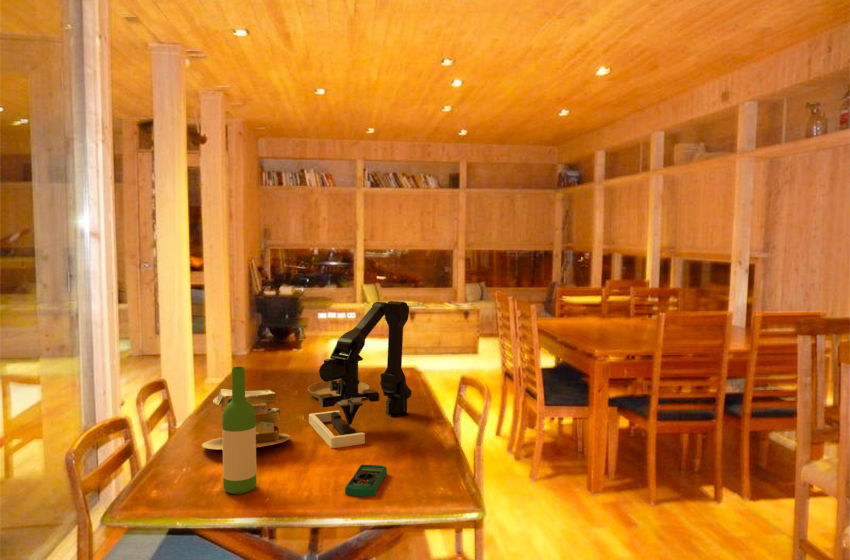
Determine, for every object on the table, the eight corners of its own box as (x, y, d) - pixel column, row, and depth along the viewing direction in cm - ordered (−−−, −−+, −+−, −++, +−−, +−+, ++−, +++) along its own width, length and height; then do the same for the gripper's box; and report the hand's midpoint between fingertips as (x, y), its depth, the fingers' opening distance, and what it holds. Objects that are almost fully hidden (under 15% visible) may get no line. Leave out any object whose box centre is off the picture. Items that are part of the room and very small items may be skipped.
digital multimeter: (343, 497, 142) (343, 485, 142) (360, 473, 157) (360, 462, 157) (373, 499, 141) (373, 487, 141) (387, 475, 156) (387, 464, 156)
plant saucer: (380, 397, 232) (380, 389, 232) (323, 407, 219) (323, 398, 219) (352, 385, 252) (352, 377, 252) (298, 393, 239) (298, 384, 239)
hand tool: (356, 440, 182) (356, 425, 182) (343, 442, 181) (343, 427, 181) (340, 423, 200) (340, 409, 200) (329, 424, 198) (329, 410, 198)
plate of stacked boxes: (207, 436, 185) (206, 383, 184) (289, 430, 191) (289, 379, 189) (197, 465, 161) (195, 404, 160) (291, 458, 167) (290, 399, 166)
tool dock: (338, 419, 203) (338, 410, 203) (364, 443, 179) (364, 433, 178) (308, 422, 199) (308, 413, 199) (331, 448, 174) (331, 438, 174)
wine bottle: (218, 495, 142) (216, 371, 140) (229, 482, 150) (227, 364, 148) (251, 495, 142) (249, 371, 140) (260, 482, 150) (258, 364, 148)
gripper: (368, 368, 201) (368, 414, 202) (313, 373, 193) (314, 421, 194) (380, 375, 191) (380, 423, 192) (323, 380, 183) (323, 430, 184)
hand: (349, 424), depth 190 cm, fingers closed
